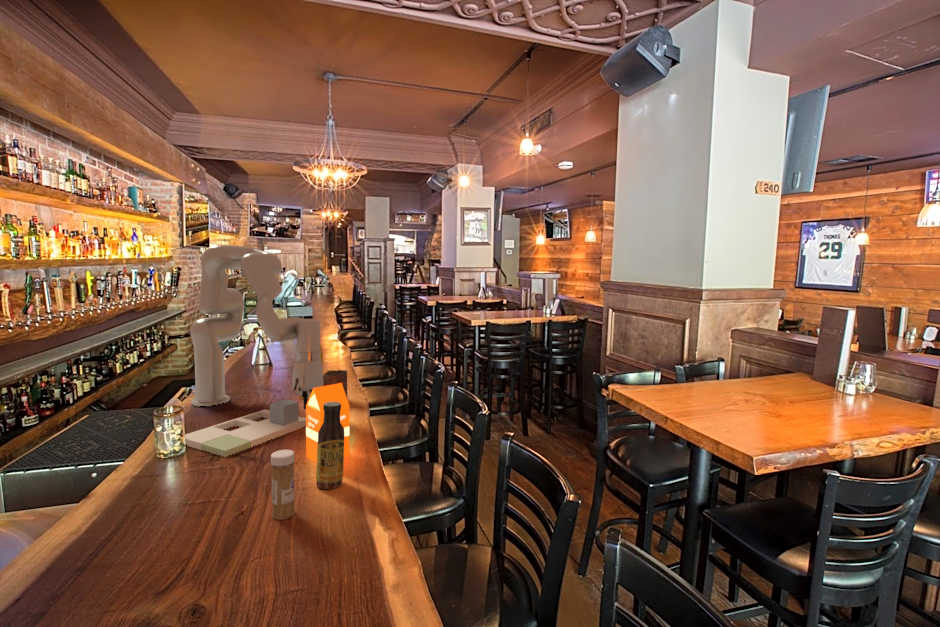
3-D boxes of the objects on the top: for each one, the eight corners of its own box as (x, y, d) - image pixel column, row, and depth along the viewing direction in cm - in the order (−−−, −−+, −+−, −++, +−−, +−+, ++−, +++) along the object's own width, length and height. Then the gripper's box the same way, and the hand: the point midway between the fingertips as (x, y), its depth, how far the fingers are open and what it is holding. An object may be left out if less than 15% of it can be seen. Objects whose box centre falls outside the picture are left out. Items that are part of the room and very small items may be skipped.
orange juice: (349, 456, 127) (350, 385, 125) (320, 465, 121) (320, 391, 119) (334, 448, 133) (334, 380, 131) (305, 456, 126) (305, 385, 124)
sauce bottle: (318, 493, 107) (318, 409, 105) (314, 481, 112) (313, 401, 110) (347, 487, 110) (347, 405, 108) (341, 476, 115) (341, 398, 113)
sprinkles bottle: (293, 519, 95) (292, 456, 94) (269, 521, 94) (268, 458, 93) (296, 508, 100) (295, 448, 98) (273, 510, 99) (272, 449, 97)
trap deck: (178, 443, 133) (178, 436, 133) (265, 414, 160) (265, 409, 159) (225, 457, 124) (225, 450, 124) (308, 424, 151) (308, 419, 151)
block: (269, 422, 147) (269, 403, 146) (285, 417, 152) (284, 399, 151) (283, 425, 144) (283, 406, 143) (298, 420, 149) (298, 402, 149)
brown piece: (340, 439, 139) (340, 374, 137) (318, 437, 141) (317, 372, 139) (351, 431, 147) (352, 369, 145) (330, 428, 148) (330, 367, 146)
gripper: (316, 351, 164) (316, 402, 166) (282, 358, 150) (283, 413, 152) (332, 353, 161) (332, 405, 162) (299, 361, 147) (300, 417, 149)
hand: (308, 408), depth 157 cm, fingers closed
